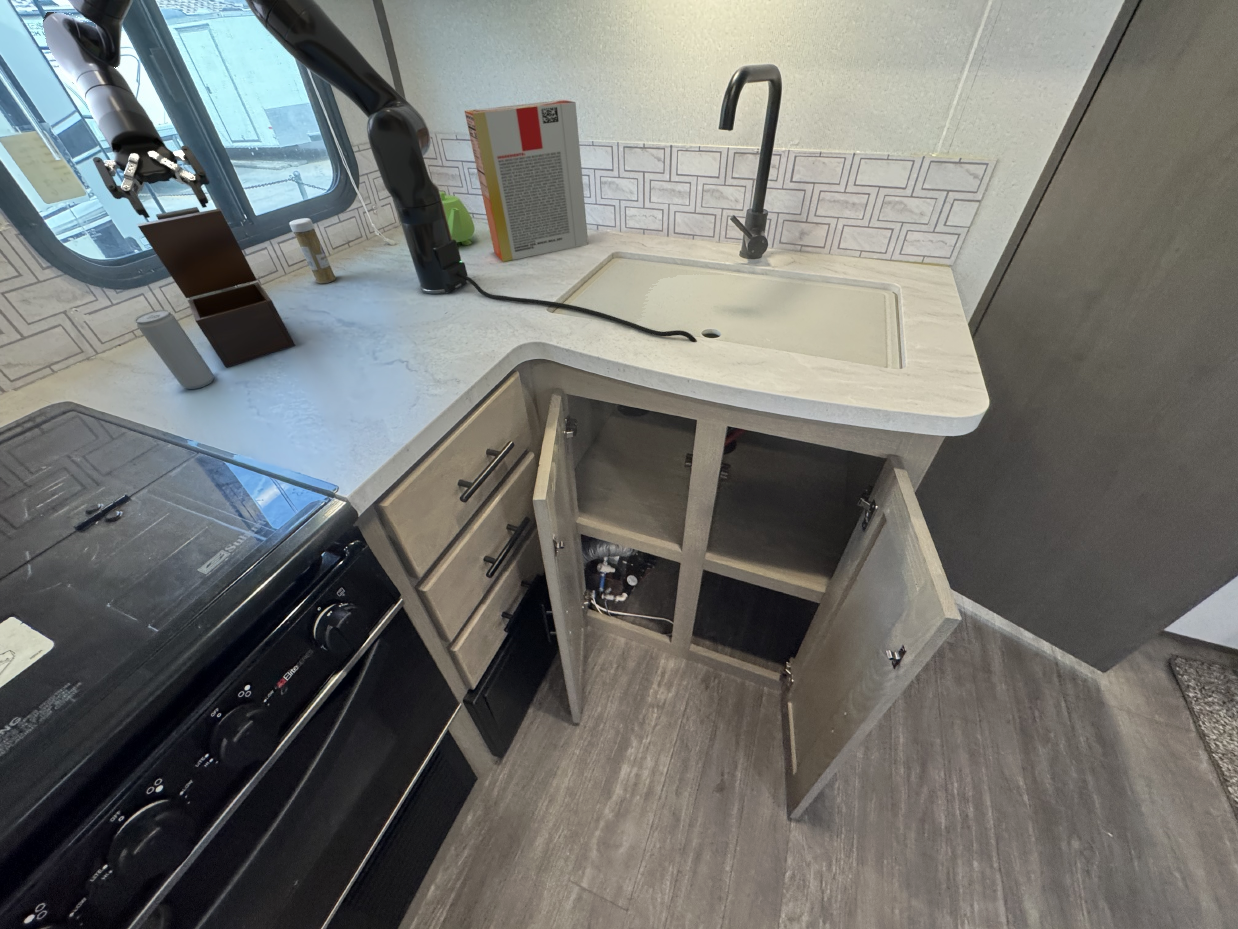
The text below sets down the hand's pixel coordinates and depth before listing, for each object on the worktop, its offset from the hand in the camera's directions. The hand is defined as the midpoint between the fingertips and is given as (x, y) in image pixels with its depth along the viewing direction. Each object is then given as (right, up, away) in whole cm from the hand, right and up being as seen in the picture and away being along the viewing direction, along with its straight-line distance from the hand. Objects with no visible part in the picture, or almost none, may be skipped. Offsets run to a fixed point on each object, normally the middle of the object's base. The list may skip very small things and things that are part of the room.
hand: (175, 209), depth 86 cm
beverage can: (+6, -31, -2) cm, 31 cm away
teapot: (+32, +16, +50) cm, 61 cm away
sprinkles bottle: (+7, -1, +33) cm, 33 cm away
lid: (+5, -8, 0) cm, 9 cm away
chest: (+8, -22, +8) cm, 24 cm away
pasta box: (+57, +11, +42) cm, 72 cm away
